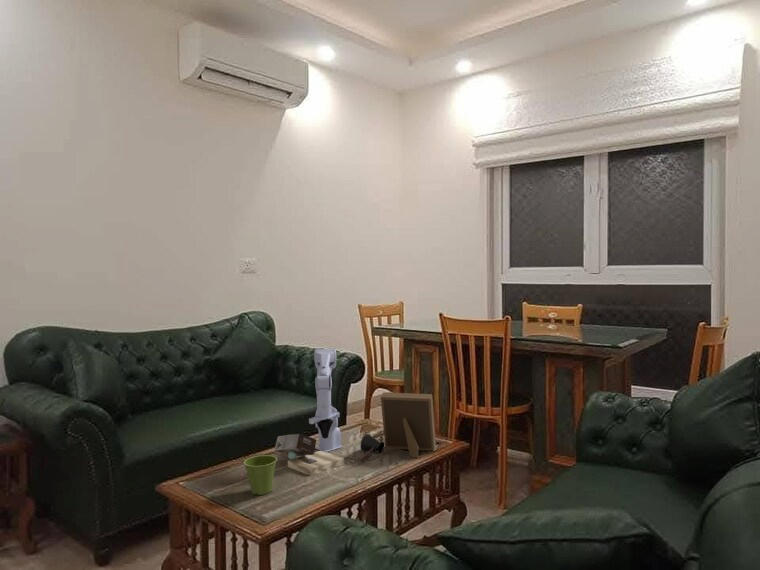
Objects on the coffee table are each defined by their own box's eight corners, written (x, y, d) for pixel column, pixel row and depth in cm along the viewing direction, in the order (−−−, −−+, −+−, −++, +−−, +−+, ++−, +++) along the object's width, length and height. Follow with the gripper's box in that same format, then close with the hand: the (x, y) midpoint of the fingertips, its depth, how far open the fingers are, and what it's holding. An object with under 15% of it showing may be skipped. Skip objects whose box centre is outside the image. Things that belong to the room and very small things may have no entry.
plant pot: (263, 482, 208) (263, 452, 208) (285, 490, 201) (284, 459, 200) (237, 493, 199) (236, 461, 199) (258, 501, 192) (257, 468, 191)
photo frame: (387, 444, 250) (386, 389, 249) (435, 447, 244) (434, 391, 243) (378, 456, 236) (377, 397, 235) (429, 459, 230) (428, 399, 229)
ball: (303, 464, 223) (308, 468, 225) (309, 466, 221) (314, 469, 223) (306, 456, 225) (311, 459, 227) (312, 457, 223) (317, 461, 225)
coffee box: (294, 442, 240) (317, 439, 230) (291, 457, 237) (314, 455, 226) (277, 435, 235) (300, 432, 225) (273, 451, 232) (296, 448, 221)
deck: (320, 456, 237) (320, 450, 237) (344, 464, 226) (344, 458, 226) (287, 466, 225) (287, 460, 225) (310, 475, 214) (310, 469, 214)
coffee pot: (369, 446, 248) (385, 452, 244) (345, 463, 233) (362, 470, 229) (369, 430, 246) (386, 436, 242) (346, 447, 231) (363, 453, 227)
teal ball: (297, 451, 228) (289, 452, 228) (295, 449, 225) (287, 450, 225) (297, 460, 226) (289, 461, 227) (295, 458, 223) (287, 459, 224)
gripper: (316, 409, 221) (317, 443, 221) (343, 403, 231) (344, 435, 231) (305, 407, 226) (306, 440, 226) (332, 400, 236) (333, 432, 236)
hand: (325, 437), depth 229 cm, fingers closed
